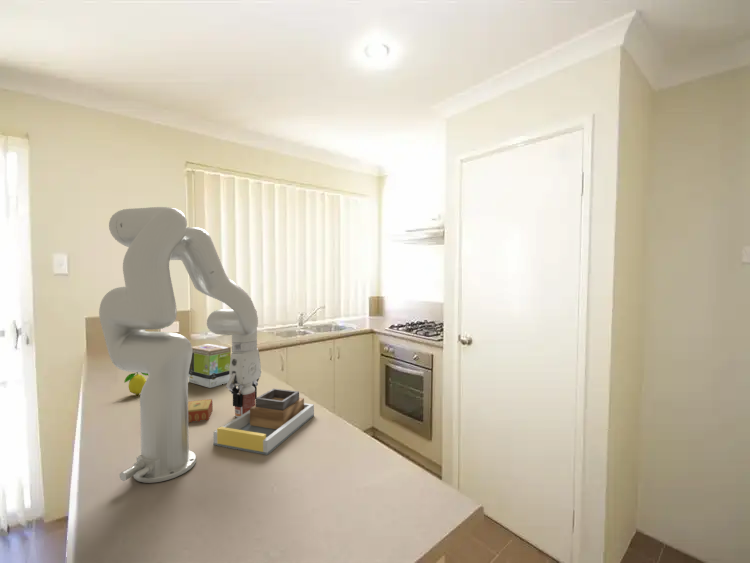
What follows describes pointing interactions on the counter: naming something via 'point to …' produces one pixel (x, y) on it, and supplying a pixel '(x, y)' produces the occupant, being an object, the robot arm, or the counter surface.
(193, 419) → the carton
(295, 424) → the bay
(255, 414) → the box
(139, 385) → the lemon
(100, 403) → the counter surface
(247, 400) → the pill bottle
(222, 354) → the tea box
